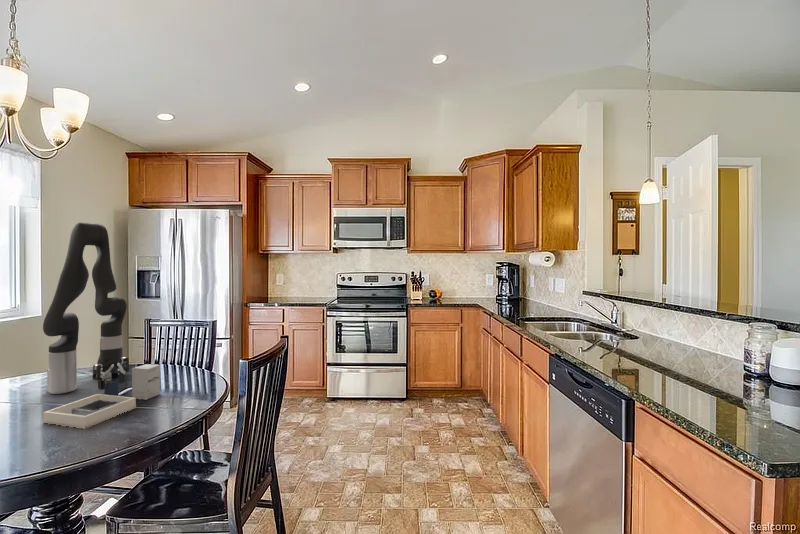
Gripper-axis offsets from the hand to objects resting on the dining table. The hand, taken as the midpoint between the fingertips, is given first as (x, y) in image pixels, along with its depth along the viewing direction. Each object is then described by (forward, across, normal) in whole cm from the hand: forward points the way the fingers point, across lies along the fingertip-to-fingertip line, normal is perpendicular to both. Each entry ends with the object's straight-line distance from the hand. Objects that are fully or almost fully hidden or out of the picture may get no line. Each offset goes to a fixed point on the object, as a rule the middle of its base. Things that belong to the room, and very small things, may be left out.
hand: (111, 386), depth 168 cm
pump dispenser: (+5, -24, -28) cm, 37 cm away
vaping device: (+5, 0, 0) cm, 5 cm away
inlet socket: (+5, +16, +11) cm, 20 cm away
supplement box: (+5, -6, +11) cm, 14 cm away
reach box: (+5, +16, +9) cm, 19 cm away
